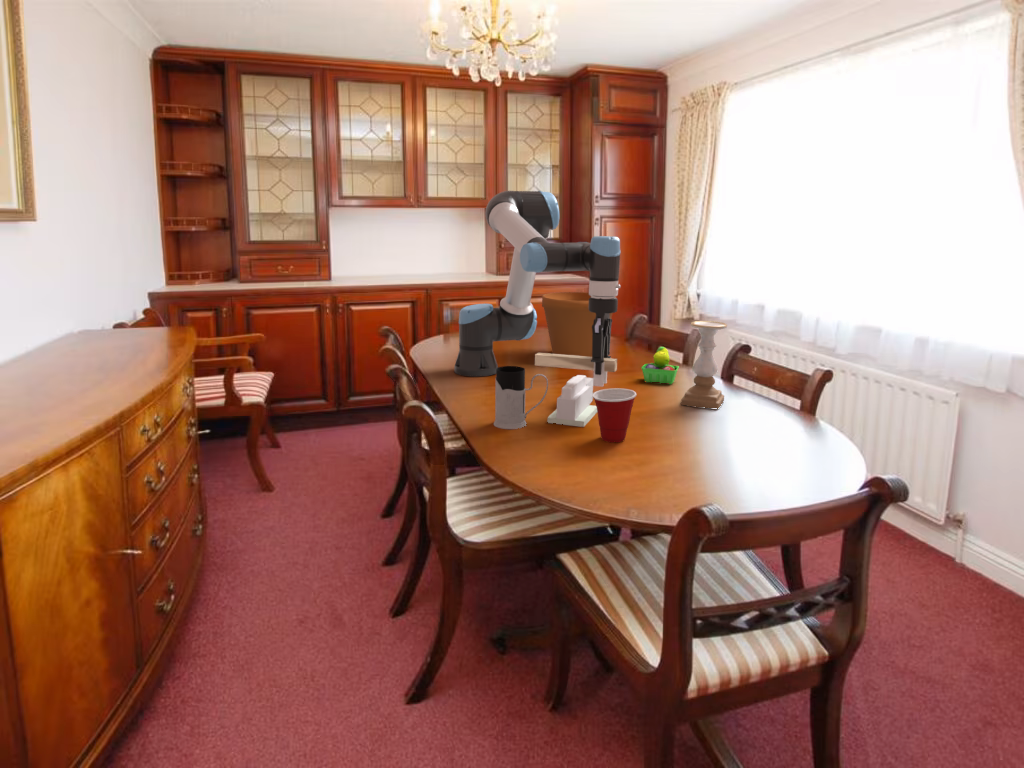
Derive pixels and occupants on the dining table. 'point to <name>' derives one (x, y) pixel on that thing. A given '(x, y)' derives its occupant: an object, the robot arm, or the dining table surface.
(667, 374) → the fruit basket
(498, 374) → the glass holder
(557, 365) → the birch batten
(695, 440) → the dining table surface
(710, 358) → the candle holder
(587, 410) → the ridge stand
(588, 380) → the rest block
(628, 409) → the plastic cup
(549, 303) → the flowerpot
